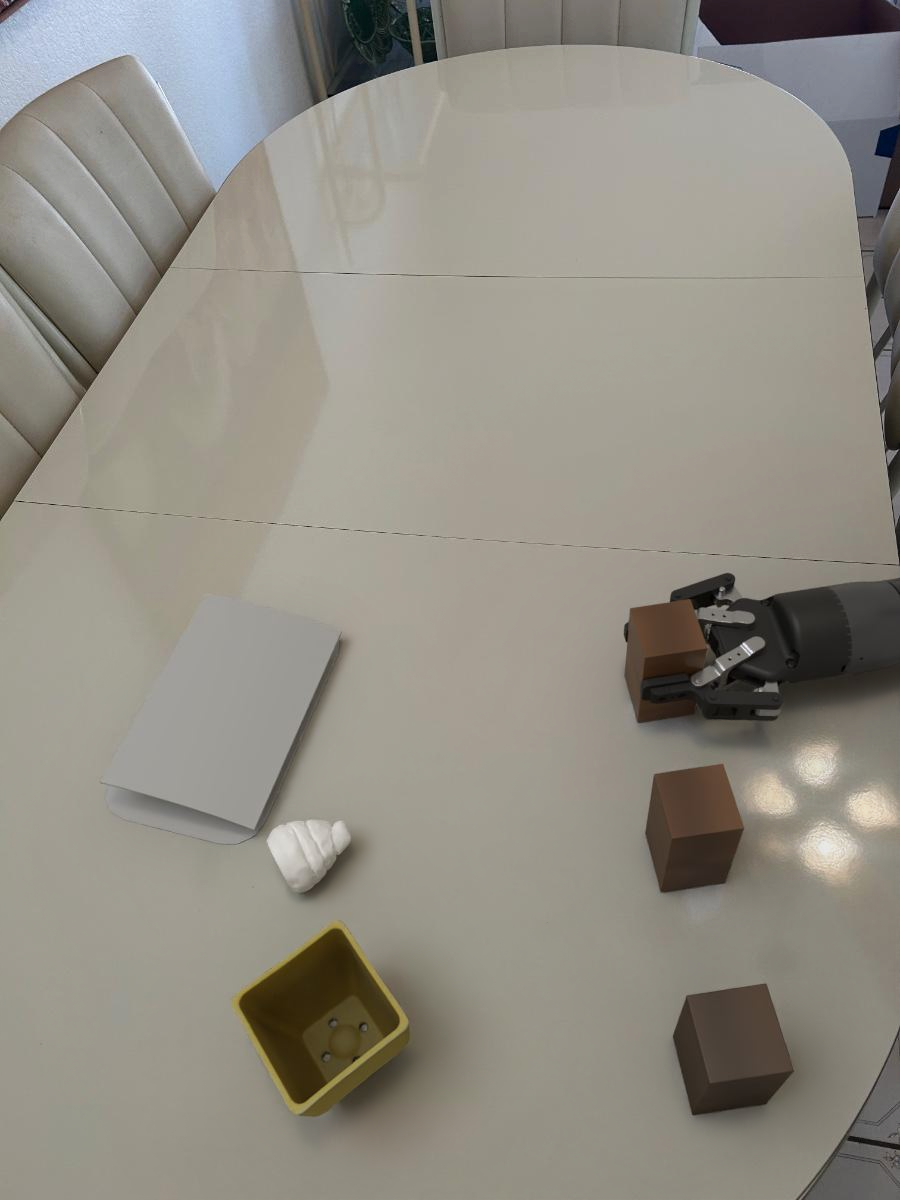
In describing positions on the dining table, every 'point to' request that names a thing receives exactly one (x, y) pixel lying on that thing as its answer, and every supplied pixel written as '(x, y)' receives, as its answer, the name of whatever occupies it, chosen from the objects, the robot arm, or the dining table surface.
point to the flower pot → (322, 1021)
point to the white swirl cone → (307, 850)
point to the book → (222, 721)
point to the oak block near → (731, 1049)
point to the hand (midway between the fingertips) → (633, 661)
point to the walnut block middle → (692, 827)
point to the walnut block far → (662, 654)
